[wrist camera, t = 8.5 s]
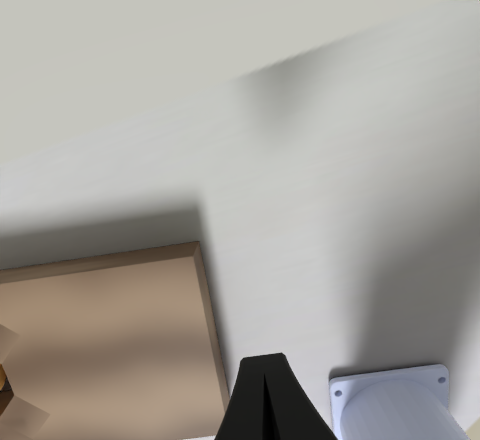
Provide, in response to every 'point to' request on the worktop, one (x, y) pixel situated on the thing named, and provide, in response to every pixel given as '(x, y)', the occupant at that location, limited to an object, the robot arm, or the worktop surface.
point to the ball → (2, 376)
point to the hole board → (111, 348)
